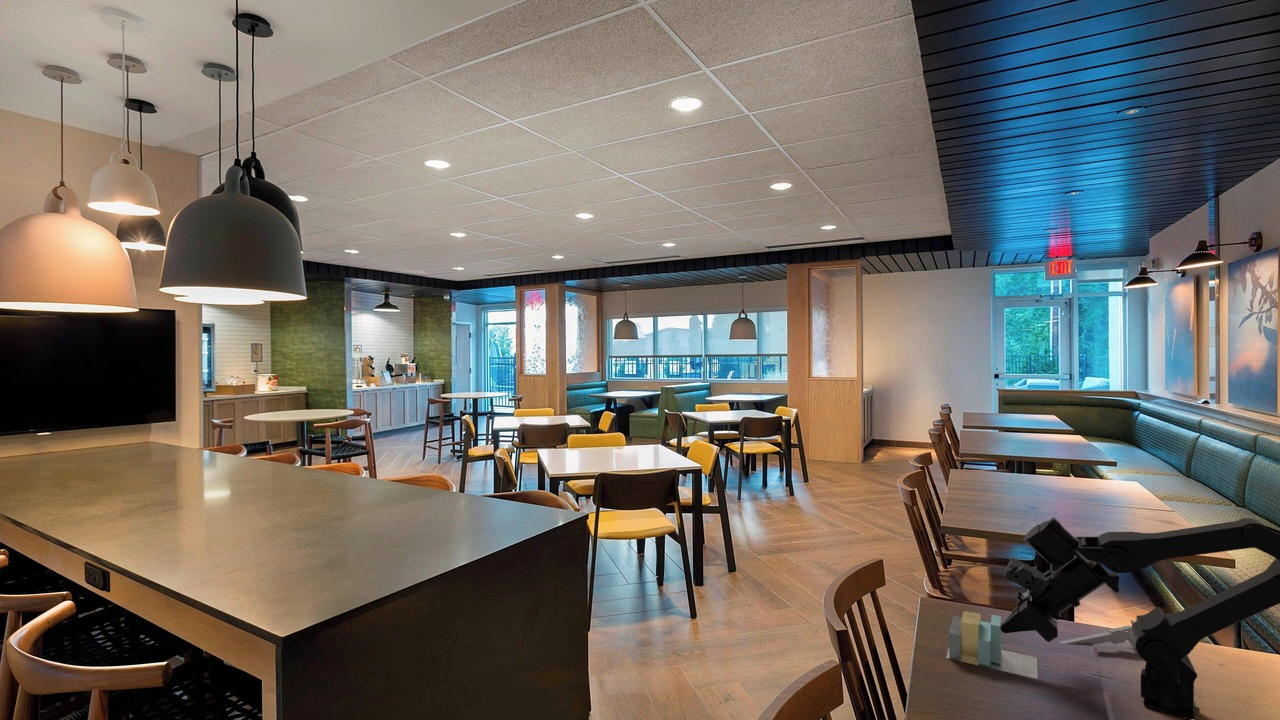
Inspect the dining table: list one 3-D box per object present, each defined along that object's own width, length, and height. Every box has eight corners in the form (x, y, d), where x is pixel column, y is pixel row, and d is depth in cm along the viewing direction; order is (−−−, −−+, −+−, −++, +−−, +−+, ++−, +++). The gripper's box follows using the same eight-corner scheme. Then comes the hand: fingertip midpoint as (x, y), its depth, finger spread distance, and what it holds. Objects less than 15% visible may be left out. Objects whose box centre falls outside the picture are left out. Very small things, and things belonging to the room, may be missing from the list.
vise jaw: (1001, 648, 121) (1001, 612, 121) (1000, 668, 114) (999, 630, 114) (981, 643, 123) (980, 608, 123) (978, 663, 116) (977, 626, 116)
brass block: (980, 648, 122) (980, 614, 122) (978, 661, 117) (978, 625, 117) (964, 644, 124) (963, 610, 124) (961, 657, 119) (960, 622, 119)
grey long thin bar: (1143, 648, 125) (1143, 618, 125) (1147, 651, 124) (1147, 620, 123) (1044, 650, 125) (1043, 619, 125) (1047, 652, 124) (1047, 622, 123)
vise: (1037, 665, 118) (1036, 632, 118) (1037, 687, 111) (1037, 651, 111) (951, 646, 126) (950, 615, 126) (946, 665, 119) (945, 632, 119)
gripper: (1032, 535, 122) (971, 580, 128) (1033, 563, 107) (963, 613, 113) (1081, 580, 118) (1016, 625, 124) (1089, 617, 102) (1014, 666, 108)
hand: (1002, 630), depth 117 cm, fingers closed, pressing on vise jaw
